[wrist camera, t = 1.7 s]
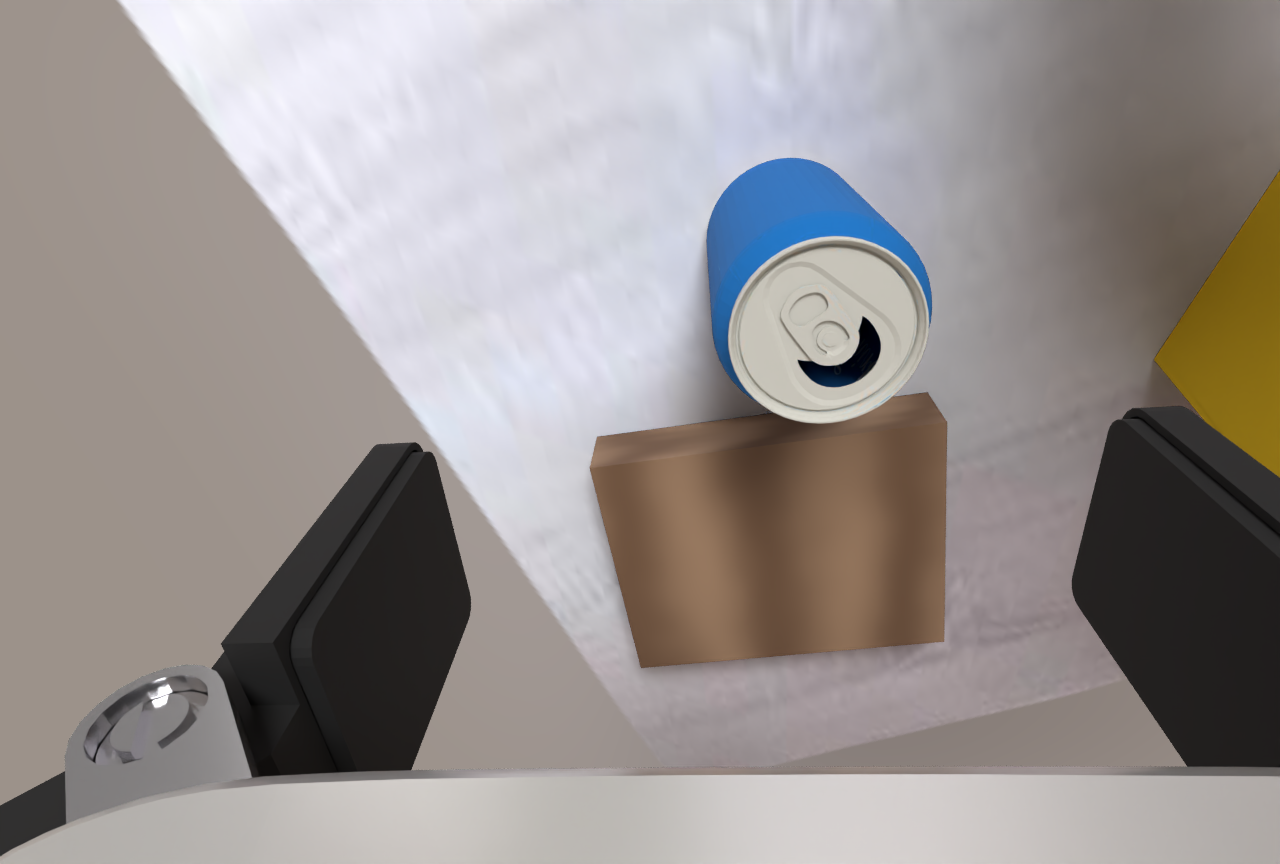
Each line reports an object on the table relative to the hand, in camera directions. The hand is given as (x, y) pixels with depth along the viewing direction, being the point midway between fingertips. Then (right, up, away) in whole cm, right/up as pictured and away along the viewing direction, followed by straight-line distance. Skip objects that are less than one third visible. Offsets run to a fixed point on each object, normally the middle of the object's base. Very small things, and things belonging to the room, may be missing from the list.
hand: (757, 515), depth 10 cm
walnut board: (+5, -4, +28) cm, 29 cm away
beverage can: (+4, +10, +21) cm, 24 cm away
